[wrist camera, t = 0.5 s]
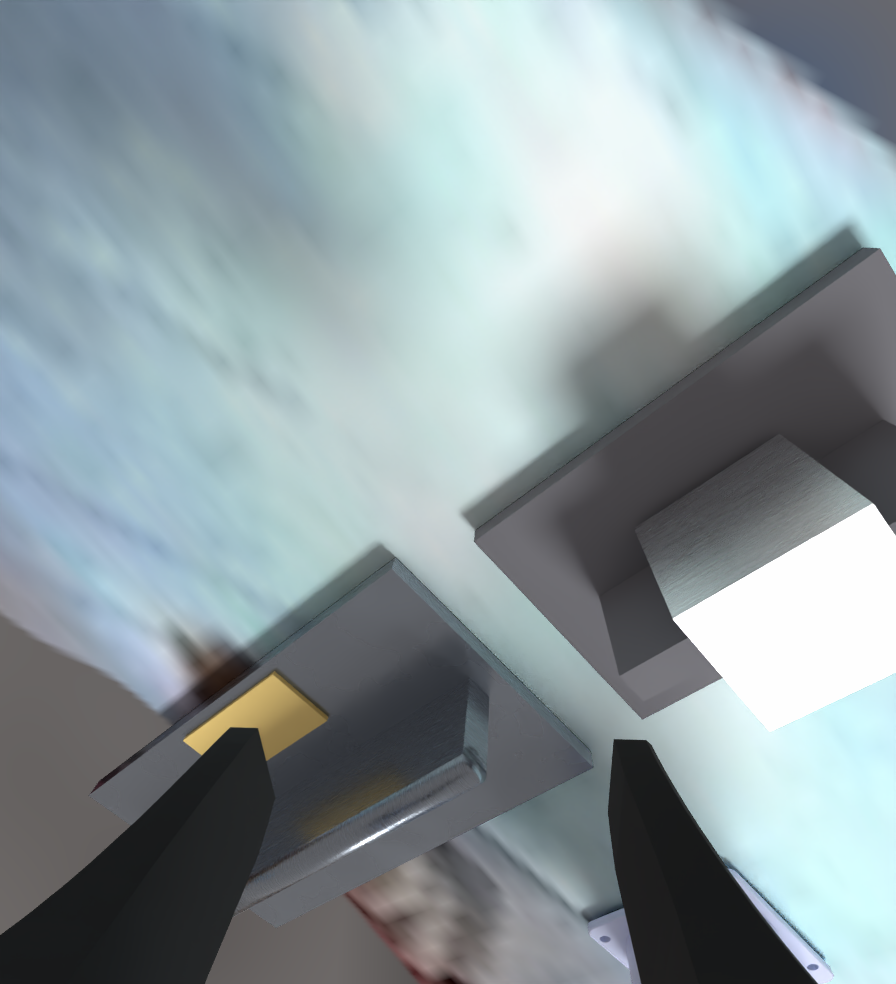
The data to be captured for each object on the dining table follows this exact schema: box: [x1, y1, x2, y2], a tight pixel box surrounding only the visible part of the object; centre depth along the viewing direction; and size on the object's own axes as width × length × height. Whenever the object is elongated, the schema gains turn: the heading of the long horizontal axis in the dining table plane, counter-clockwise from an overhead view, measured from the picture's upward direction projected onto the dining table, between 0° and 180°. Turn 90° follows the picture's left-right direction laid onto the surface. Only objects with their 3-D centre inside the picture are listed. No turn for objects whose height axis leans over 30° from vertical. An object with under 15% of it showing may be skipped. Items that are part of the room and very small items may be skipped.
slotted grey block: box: [634, 434, 896, 731], centre depth 16 cm, size 5×5×5 cm
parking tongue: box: [474, 248, 896, 719], centre depth 17 cm, size 10×14×5 cm
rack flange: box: [89, 557, 593, 928], centre depth 24 cm, size 12×20×5 cm, turn 132°
